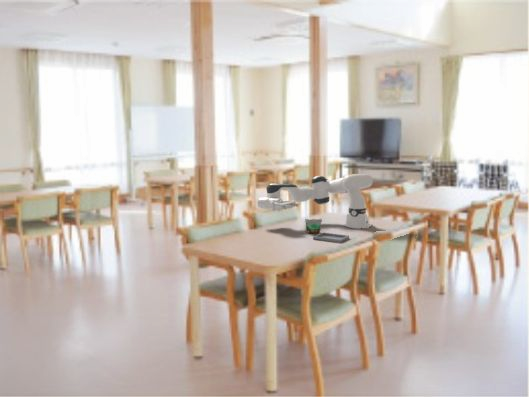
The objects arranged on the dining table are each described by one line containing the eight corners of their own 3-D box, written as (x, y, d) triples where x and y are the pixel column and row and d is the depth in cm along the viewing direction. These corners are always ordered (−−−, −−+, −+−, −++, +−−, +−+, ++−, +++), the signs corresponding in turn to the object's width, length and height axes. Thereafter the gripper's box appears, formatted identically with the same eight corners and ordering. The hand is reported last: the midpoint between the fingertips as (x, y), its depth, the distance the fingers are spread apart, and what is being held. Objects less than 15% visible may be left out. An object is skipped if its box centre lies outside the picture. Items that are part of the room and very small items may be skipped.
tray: (322, 235, 363) (322, 232, 362) (349, 238, 353) (349, 235, 353) (313, 239, 350) (313, 236, 350) (340, 242, 340) (340, 239, 340)
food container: (307, 234, 364) (307, 220, 363) (304, 233, 370) (304, 218, 368) (324, 233, 367) (324, 219, 366) (321, 232, 373) (321, 218, 372)
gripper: (284, 207, 390) (301, 208, 383) (270, 210, 373) (287, 212, 366) (285, 198, 389) (301, 199, 382) (270, 201, 372) (287, 203, 365)
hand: (294, 206), depth 374 cm, fingers open, 8 cm apart
